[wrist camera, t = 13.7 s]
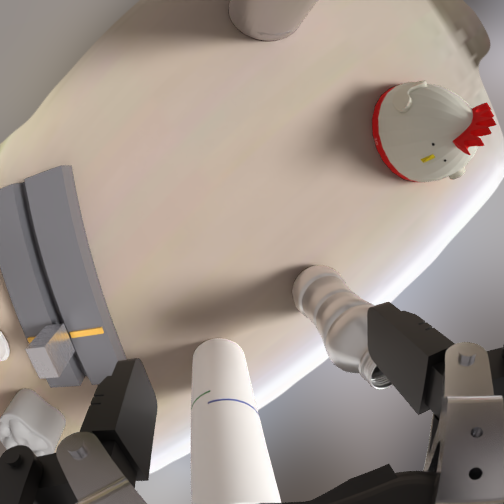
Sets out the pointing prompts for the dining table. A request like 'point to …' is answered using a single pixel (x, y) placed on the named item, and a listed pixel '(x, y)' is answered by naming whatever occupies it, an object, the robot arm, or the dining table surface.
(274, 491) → the cylindrical container
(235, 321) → the dining table surface
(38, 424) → the lumpy-topped squat cylinder
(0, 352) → the downlight
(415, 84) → the kitchen timer
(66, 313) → the fader console
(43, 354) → the fader knob
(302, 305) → the plastic bottle
